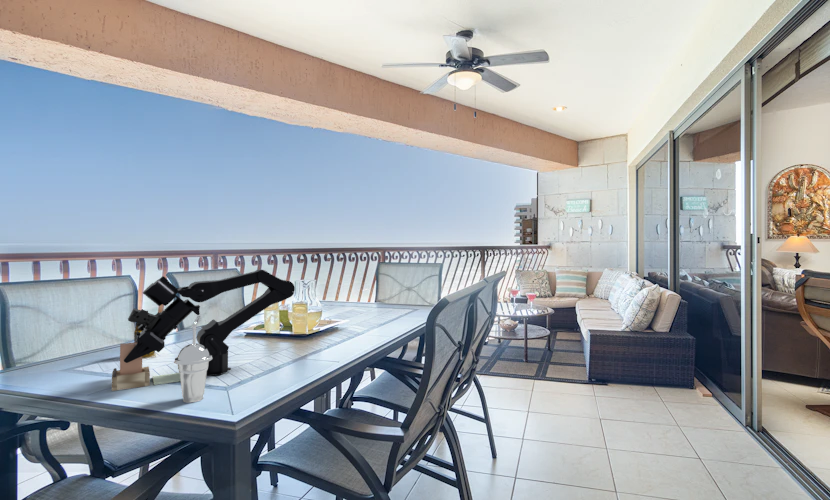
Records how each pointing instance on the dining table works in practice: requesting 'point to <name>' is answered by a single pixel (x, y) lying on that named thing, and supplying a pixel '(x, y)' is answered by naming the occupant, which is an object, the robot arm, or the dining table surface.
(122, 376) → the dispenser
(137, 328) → the condiment
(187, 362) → the cup with straw
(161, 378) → the pad
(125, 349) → the pinkish tan rectangular block
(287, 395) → the dining table surface
